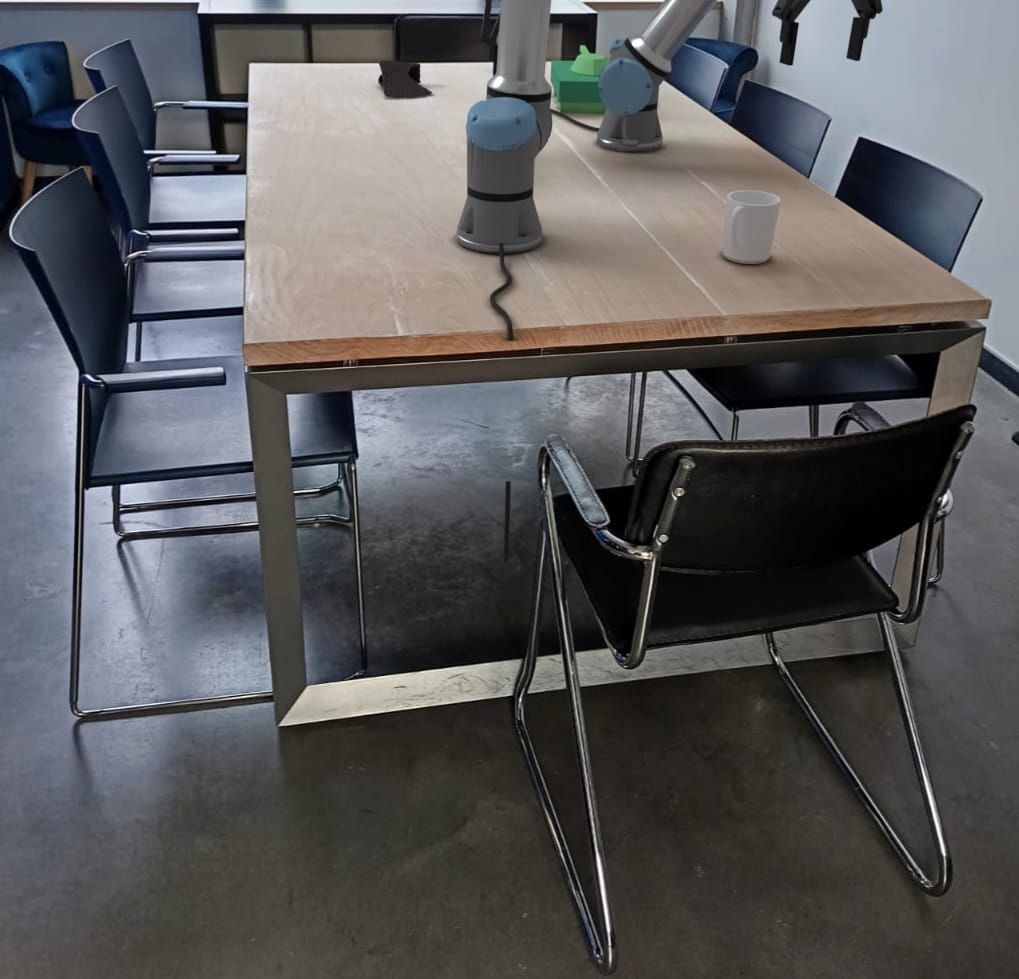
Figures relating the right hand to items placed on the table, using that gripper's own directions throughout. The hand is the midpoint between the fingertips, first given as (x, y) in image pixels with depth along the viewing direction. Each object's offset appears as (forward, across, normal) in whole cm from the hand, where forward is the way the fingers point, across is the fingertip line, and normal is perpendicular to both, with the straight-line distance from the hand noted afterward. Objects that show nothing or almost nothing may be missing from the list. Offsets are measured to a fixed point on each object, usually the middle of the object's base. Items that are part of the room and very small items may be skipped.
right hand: (512, 76), depth 241 cm
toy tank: (+16, -24, -50) cm, 58 cm away
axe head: (+17, +25, -62) cm, 69 cm away
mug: (+15, -36, +72) cm, 82 cm away
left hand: (-16, -47, +62) cm, 80 cm away
